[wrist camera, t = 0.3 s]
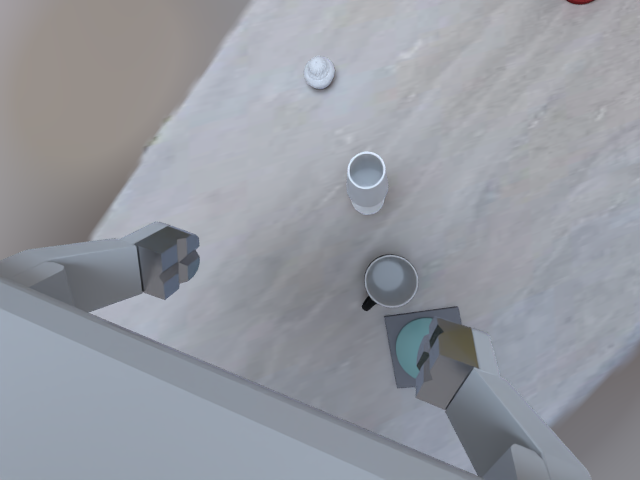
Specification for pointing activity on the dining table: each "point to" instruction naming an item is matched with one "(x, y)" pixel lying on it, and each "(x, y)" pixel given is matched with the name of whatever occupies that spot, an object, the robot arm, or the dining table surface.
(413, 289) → the mug
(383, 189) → the champagne flute
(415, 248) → the dining table surface
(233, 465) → the robot arm
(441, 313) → the mat
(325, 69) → the white ridged rounded piece
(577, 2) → the canned food
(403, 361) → the lid
